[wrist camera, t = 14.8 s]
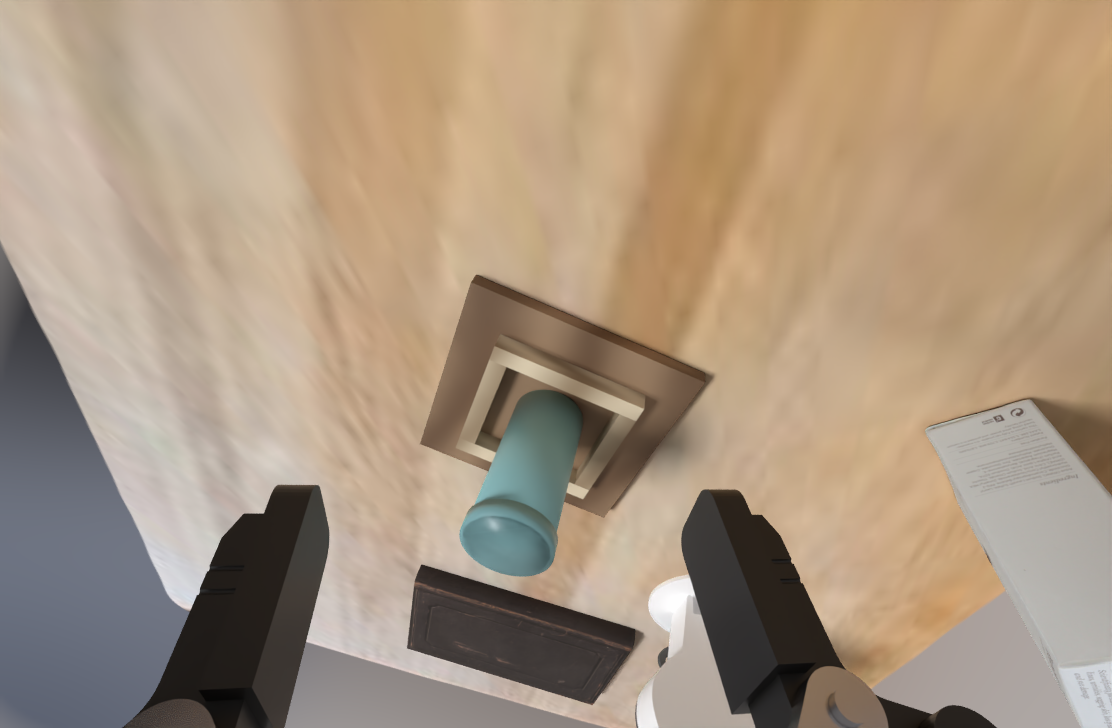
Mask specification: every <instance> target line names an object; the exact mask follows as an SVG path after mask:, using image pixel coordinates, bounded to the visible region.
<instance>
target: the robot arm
mask: <svg viewBox="0 0 1112 728" xmlns="http://www.w3.org/2000/svg"><path fill="white" fill-rule="evenodd" d="M681 543H682V552H683V556H684V560H685V563H686V566H687V570H688V573H689V576H690V580H691V583H692V586H693V589H694V593H695V596H696V599H697V603H698V606H699V609H700V612H701V616H702V619H703V622H704V626H705V629H706V632H707V635H708V639H709V642H710V645H711V649H712V652H713V655H714V658H715V662H716V665H717V668H718V672H719V675H720V678H721V681H722V685H723V688H724V691H725V694H726V698H727V701H728V704H729V708H730V711H731V714H732V715H734V714H750V713H751V716H752V719H753V722H754V725H755V728H996V727H995V726H994V725H993V724H992V723H991V722H990V721H988V720H987V719H986V718H984V717H983V716H982V715H980V714H978V713H977V712H975V711H973V710H970V709H968V708H965V707H962V706H956V705H952V706H947V707H944V708H942V709H941V710H939V711H938V712H936V713H935V714H929V713H926V712H923V711H920V710H917V709H914V708H911V707H908V706H904V705H901V704H898V703H895V702H892V701H889V700H886V699H883V698H881V697H879V696H877V695H875V694H874V693H873V691H872V690H871V689H870V688H869V687H868V686H867V685H866V684H865V683H864V682H863V681H862V680H861V679H860V678H858V677H857V676H855V675H854V674H853V673H851V672H849V671H847V670H846V669H845V668H844V666H843V665H842V663H841V662H840V660H839V659H838V657H837V655H836V653H835V651H834V649H833V647H832V644H831V642H830V640H829V638H828V636H827V634H826V632H825V630H824V627H823V625H822V623H821V621H820V619H819V617H818V615H817V613H816V610H815V608H814V606H813V604H812V602H811V600H810V598H809V596H808V593H807V591H806V589H805V587H804V585H803V583H801V582H800V576H799V574H798V572H797V570H796V568H795V566H794V564H792V563H791V557H790V555H789V553H788V551H787V549H786V547H785V545H784V543H783V540H782V538H781V536H780V535H779V534H778V533H777V531H776V530H775V529H774V528H773V527H772V526H771V525H770V524H769V522H768V521H767V520H766V519H765V518H764V517H763V516H762V515H752V514H751V512H750V510H749V508H748V505H747V503H746V501H745V499H744V497H743V495H742V494H741V493H740V492H739V491H738V490H702V491H701V493H700V494H699V496H698V498H697V501H696V503H695V505H694V507H693V509H692V511H691V513H690V515H689V517H688V519H687V521H686V523H685V525H684V528H683V531H682V538H681ZM328 548H329V527H328V522H327V517H326V513H325V508H324V504H323V499H322V494H321V490H320V487H319V486H318V485H277V486H276V487H275V488H274V490H273V492H272V494H271V496H270V499H269V502H268V504H267V507H266V510H265V512H264V514H243V515H242V516H241V517H240V518H239V520H238V521H237V522H236V523H235V524H234V525H233V526H232V527H231V528H230V529H229V530H228V532H227V533H226V534H225V535H224V536H223V537H222V538H221V541H220V543H219V545H218V548H217V550H216V552H215V555H214V557H213V559H212V562H211V564H210V570H209V571H207V573H206V576H205V578H204V580H203V583H202V585H201V587H200V593H199V595H197V597H196V599H195V601H194V604H193V606H192V608H191V611H190V613H189V615H188V618H187V620H186V622H185V625H184V627H183V629H182V632H181V634H180V637H179V639H178V641H177V643H176V646H175V648H174V651H173V653H172V655H171V657H170V660H169V662H168V664H167V667H166V669H165V672H164V674H163V676H162V678H161V681H160V683H159V685H158V687H157V689H156V691H155V692H154V694H153V696H152V697H151V699H150V700H149V701H148V703H147V704H146V705H145V706H144V708H143V709H142V710H141V711H140V712H139V713H138V714H137V715H136V716H135V717H134V718H133V719H132V720H131V721H130V722H129V723H127V724H126V725H125V726H124V727H123V728H284V727H285V723H286V719H287V715H288V711H289V706H290V703H291V699H292V695H293V691H294V687H295V683H296V679H297V675H298V671H299V667H300V663H301V659H302V655H303V651H304V647H305V643H306V639H307V635H308V631H309V627H310V623H311V619H312V615H313V611H314V607H315V603H316V599H317V595H318V591H319V587H320V583H321V579H322V575H323V572H324V568H325V564H326V559H327V554H328Z"/></svg>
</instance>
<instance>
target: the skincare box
mask: <svg viewBox="0 0 1112 728" xmlns="http://www.w3.org/2000/svg"><path fill="white" fill-rule="evenodd" d="M925 432H926V435H927V437H928V439H929V440H930V442H931V443H932V445H933V447H934V449H935V450H936V452H937V454H938V456H939V458H940V460H941V462H942V464H943V466H944V468H945V470H946V473H947V475H948V477H949V480H950V482H951V485H952V487H953V490H954V493H955V497H956V499H957V502H958V504H959V506H960V508H961V510H962V512H963V513H964V515H965V517H966V519H967V521H968V523H969V524H970V526H971V528H972V530H973V532H974V534H975V535H976V537H977V539H978V541H979V543H980V544H981V546H982V548H983V550H984V552H985V553H986V555H987V557H988V559H989V561H990V563H991V564H992V566H993V568H994V570H995V571H996V573H997V575H998V577H999V579H1000V581H1001V583H1002V584H1003V586H1004V588H1005V590H1006V592H1007V593H1008V595H1009V597H1010V599H1011V601H1012V602H1013V604H1014V606H1015V608H1016V609H1017V611H1018V613H1019V615H1020V617H1021V619H1022V620H1023V622H1024V624H1025V626H1026V628H1027V629H1028V631H1029V633H1030V635H1031V636H1032V638H1033V640H1034V642H1035V643H1036V645H1037V647H1038V649H1039V650H1040V652H1041V654H1042V656H1043V657H1044V659H1045V661H1046V663H1047V665H1048V667H1049V668H1050V670H1051V672H1052V674H1053V676H1054V678H1055V679H1056V681H1057V683H1058V685H1059V687H1060V689H1061V691H1062V692H1063V694H1064V696H1065V698H1066V700H1067V702H1068V704H1069V705H1070V707H1071V709H1072V711H1073V713H1074V715H1075V717H1076V719H1077V721H1078V723H1079V724H1080V726H1081V728H1112V495H1111V494H1110V493H1109V492H1108V491H1107V489H1106V488H1105V487H1104V486H1103V485H1102V483H1101V482H1100V481H1099V480H1098V479H1097V477H1096V476H1095V475H1094V474H1093V473H1092V471H1091V470H1090V469H1089V468H1088V467H1087V466H1086V464H1085V463H1084V462H1083V461H1082V460H1081V458H1080V457H1079V456H1078V455H1077V454H1076V453H1075V451H1074V450H1073V449H1072V448H1071V447H1070V445H1069V444H1068V443H1067V442H1066V441H1065V439H1064V438H1063V437H1062V436H1061V435H1060V433H1059V432H1058V431H1057V430H1056V429H1055V427H1054V426H1053V425H1052V424H1051V423H1050V421H1049V420H1048V419H1047V418H1046V417H1045V416H1044V415H1043V413H1042V412H1041V411H1040V410H1039V408H1038V407H1037V406H1036V405H1035V404H1034V402H1033V401H1032V400H1029V399H1027V400H1022V401H1018V402H1015V403H1011V404H1008V405H1006V406H1003V407H1000V408H996V409H993V410H989V411H986V412H982V413H978V414H974V415H970V416H966V417H962V418H958V419H955V420H952V421H948V422H944V423H941V424H938V425H934V426H931V427H928V428H927V429H926V431H925Z"/></svg>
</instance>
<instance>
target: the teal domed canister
mask: <svg viewBox="0 0 1112 728" xmlns="http://www.w3.org/2000/svg"><path fill="white" fill-rule="evenodd" d="M582 427H583V416H582V413H581V411H580V409H579V407H578V406H577V405H576V404H575V402H574V401H572V400H571V399H570V398H568V397H567V396H565V395H563V394H561V393H559V392H556V391H552V390H535V391H531V392H528V393H526V394H525V395H523V396H522V397H521V398H520V399H519V400H518V402H517V404H516V406H515V409H514V411H513V413H512V416H511V418H510V421H509V423H508V426H507V428H506V430H505V433H504V435H503V438H502V440H501V442H500V445H499V447H498V450H497V452H496V454H495V457H494V459H493V462H492V464H491V466H490V469H489V471H488V474H487V476H486V478H485V481H484V483H483V486H482V488H481V490H480V493H479V495H478V498H477V500H476V502H475V505H474V506H472V507H471V508H470V509H469V511H468V512H467V515H466V517H465V519H464V522H463V524H462V527H461V529H460V541H461V544H462V546H463V547H464V549H465V551H466V552H467V553H468V554H469V555H470V556H471V557H472V558H473V559H474V560H475V561H477V562H478V563H480V564H481V565H483V566H485V567H487V568H489V569H491V570H493V571H496V572H499V573H502V574H506V575H511V576H532V575H536V574H539V573H542V572H544V571H545V570H547V569H548V568H549V567H550V566H551V564H552V562H553V560H554V556H555V552H556V547H557V543H558V536H557V528H558V524H559V520H560V516H561V512H562V508H563V504H564V500H565V496H566V492H567V488H568V484H569V480H570V476H571V472H572V468H573V464H574V460H575V455H576V451H577V447H578V443H579V439H580V435H581V431H582Z"/></svg>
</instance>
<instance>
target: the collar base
mask: <svg viewBox="0 0 1112 728" xmlns="http://www.w3.org/2000/svg"><path fill="white" fill-rule="evenodd" d="M704 383H705V373H703V372H701V371H699V370H696V369H694V368H692V367H689V366H687V365H685V364H682V363H680V362H678V361H675V360H673V359H671V358H668V357H666V356H664V355H661V354H659V353H657V352H654V351H652V350H650V349H647V348H645V347H643V346H640V345H638V344H636V343H633V342H631V341H629V340H627V339H624V338H622V337H620V336H617V335H615V334H613V333H610V332H608V331H606V330H603V329H601V328H599V327H596V326H594V325H592V324H589V323H587V322H585V321H582V320H580V319H578V318H575V317H573V316H571V315H568V314H566V313H564V312H561V311H559V310H557V309H554V308H552V307H550V306H547V305H545V304H543V303H540V302H538V301H536V300H533V299H531V298H529V297H526V296H524V295H522V294H520V293H517V292H515V291H513V290H510V289H508V288H506V287H503V286H501V285H499V284H496V283H494V282H492V281H489V280H487V279H485V278H482V277H480V276H478V275H476V276H475V277H474V279H473V280H472V282H471V284H470V288H469V291H468V294H467V297H466V300H465V304H464V307H463V310H462V313H461V316H460V319H459V323H458V326H457V329H456V332H455V335H454V338H453V342H452V345H451V348H450V351H449V354H448V357H447V361H446V364H445V367H444V370H443V373H442V376H441V380H440V383H439V386H438V389H437V392H436V395H435V399H434V402H433V405H432V408H431V411H430V414H429V418H428V421H427V424H426V427H425V430H424V434H423V437H422V440H421V443H420V444H422V445H424V446H427V447H429V448H432V449H434V450H437V451H439V452H442V453H444V454H447V455H449V456H452V457H454V458H457V459H459V460H462V461H464V462H467V463H469V464H472V465H474V466H477V467H479V468H482V469H484V470H487V471H489V469H490V466H491V464H492V462H493V459H494V457H495V454H496V452H497V450H498V447H499V445H500V442H501V440H502V438H503V435H504V433H505V430H506V428H507V426H508V423H509V421H510V418H511V416H512V413H513V411H514V409H515V406H516V404H517V402H518V400H519V399H520V398H521V397H522V396H523V395H525V394H526V393H528V392H531V391H535V390H552V391H556V392H559V393H561V394H563V395H565V396H567V397H568V398H570V399H571V400H572V401H574V402H575V404H576V405H577V406H578V407H579V409H580V411H581V413H582V416H583V427H582V431H581V435H580V439H579V443H578V447H577V451H576V455H575V460H574V464H573V468H572V472H571V476H570V480H569V484H568V488H567V492H566V496H565V500H564V502H566V503H569V504H571V505H574V506H576V507H579V508H581V509H584V510H586V511H589V512H591V513H594V514H596V515H599V516H601V517H605V515H606V514H607V513H608V511H609V510H610V509H611V507H612V506H613V505H614V503H615V502H616V501H617V499H618V498H619V497H620V495H621V494H622V493H623V491H624V490H625V489H626V487H627V486H628V485H629V483H630V482H631V481H632V479H633V478H634V477H635V475H636V474H637V473H638V471H639V470H640V469H641V467H642V466H643V465H644V463H645V462H646V461H647V459H648V458H649V457H650V455H651V454H652V453H653V451H654V450H655V449H656V447H657V446H658V445H659V443H660V442H661V441H662V439H663V438H664V437H665V435H666V434H667V433H668V431H669V430H670V429H671V427H672V426H673V425H674V423H675V422H676V421H677V419H678V418H679V417H680V415H681V414H682V413H683V411H684V410H685V409H686V407H687V406H688V405H689V403H690V402H691V401H692V399H693V398H694V397H695V395H696V394H697V393H698V391H699V390H700V389H701V387H702V386H703V385H704Z"/></svg>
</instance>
